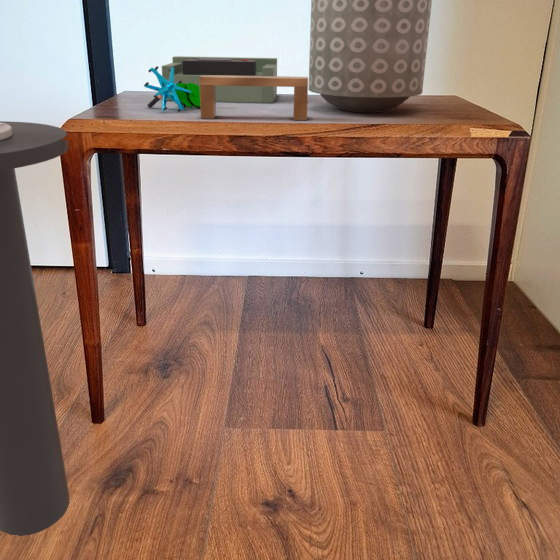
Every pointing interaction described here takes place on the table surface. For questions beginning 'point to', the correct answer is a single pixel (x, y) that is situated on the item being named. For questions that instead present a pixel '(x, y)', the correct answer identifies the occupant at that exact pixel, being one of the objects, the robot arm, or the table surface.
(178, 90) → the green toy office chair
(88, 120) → the table surface
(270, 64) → the sofa
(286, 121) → the table surface
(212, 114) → the wooden bench stand
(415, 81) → the planter
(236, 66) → the bar
